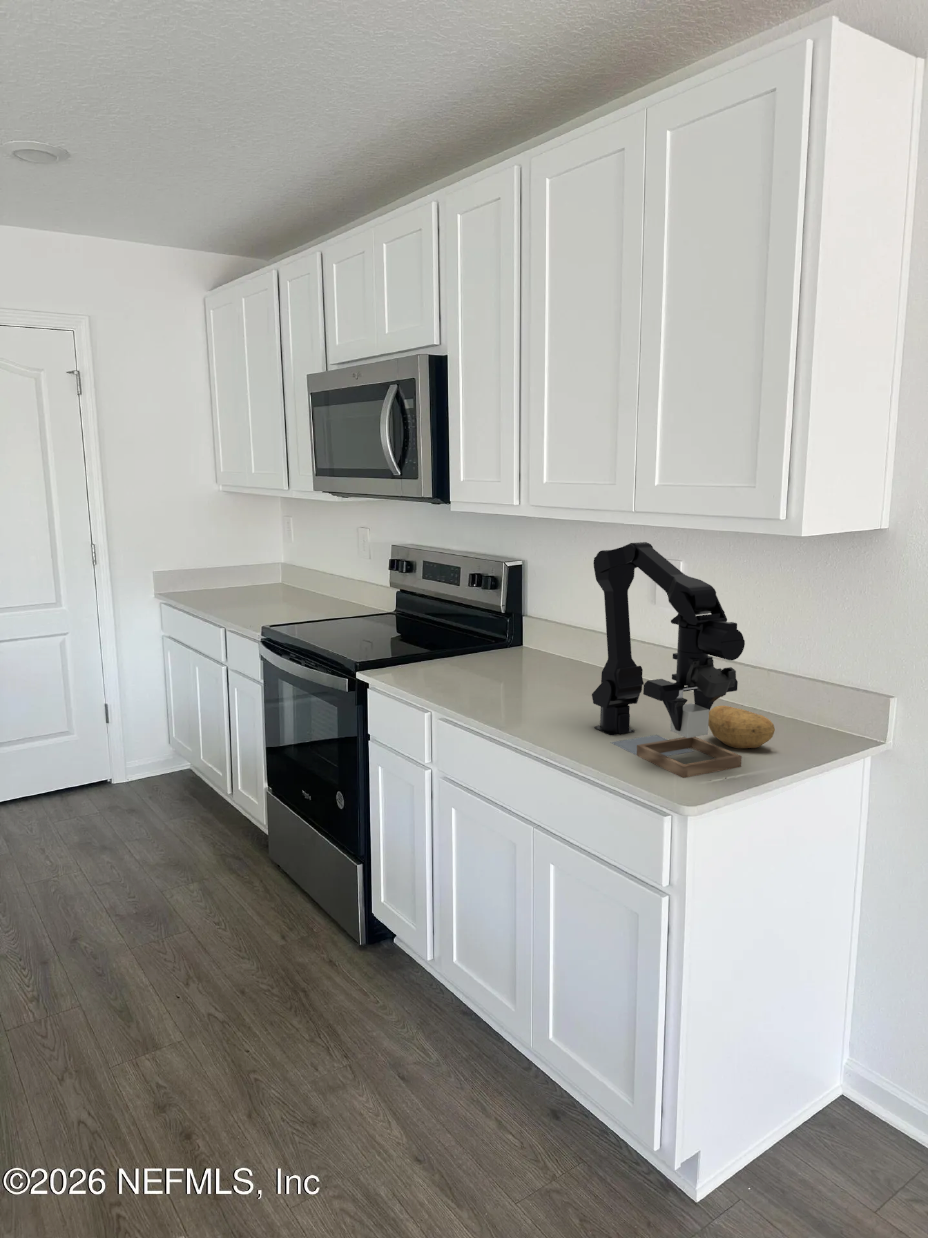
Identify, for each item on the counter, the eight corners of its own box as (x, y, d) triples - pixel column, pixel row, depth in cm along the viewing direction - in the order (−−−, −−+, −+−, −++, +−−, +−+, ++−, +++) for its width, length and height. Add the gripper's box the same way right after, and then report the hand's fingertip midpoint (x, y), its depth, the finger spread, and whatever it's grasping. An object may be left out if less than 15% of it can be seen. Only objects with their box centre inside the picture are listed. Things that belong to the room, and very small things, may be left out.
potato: (758, 761, 170) (761, 721, 168) (696, 744, 180) (698, 707, 179) (783, 750, 176) (785, 712, 175) (721, 734, 187) (723, 698, 185)
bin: (636, 757, 172) (637, 745, 171) (692, 747, 178) (692, 735, 177) (682, 779, 159) (683, 766, 159) (740, 768, 165) (741, 756, 165)
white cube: (670, 730, 169) (671, 706, 168) (690, 727, 171) (691, 703, 170) (687, 738, 164) (688, 712, 163) (707, 734, 167) (709, 709, 166)
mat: (610, 744, 180) (610, 742, 180) (656, 736, 185) (656, 734, 185) (645, 761, 169) (646, 759, 169) (694, 753, 174) (694, 751, 174)
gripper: (681, 663, 154) (677, 747, 156) (760, 653, 162) (755, 734, 164) (643, 651, 164) (640, 730, 166) (719, 642, 172) (715, 718, 174)
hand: (688, 728), depth 168 cm, fingers closed on white cube, 5 cm apart
